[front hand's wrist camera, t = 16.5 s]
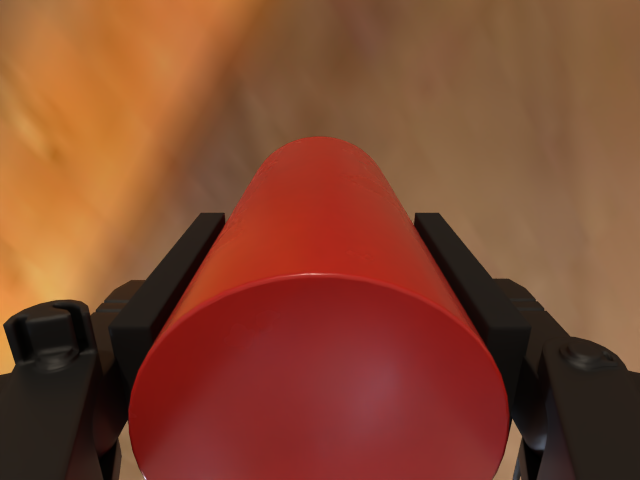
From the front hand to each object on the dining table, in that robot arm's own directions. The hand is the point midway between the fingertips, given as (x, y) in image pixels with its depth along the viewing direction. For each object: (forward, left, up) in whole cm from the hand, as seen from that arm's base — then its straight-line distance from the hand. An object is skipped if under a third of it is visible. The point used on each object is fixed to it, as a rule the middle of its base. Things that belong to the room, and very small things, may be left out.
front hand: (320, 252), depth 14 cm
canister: (0, 0, -5) cm, 5 cm away
